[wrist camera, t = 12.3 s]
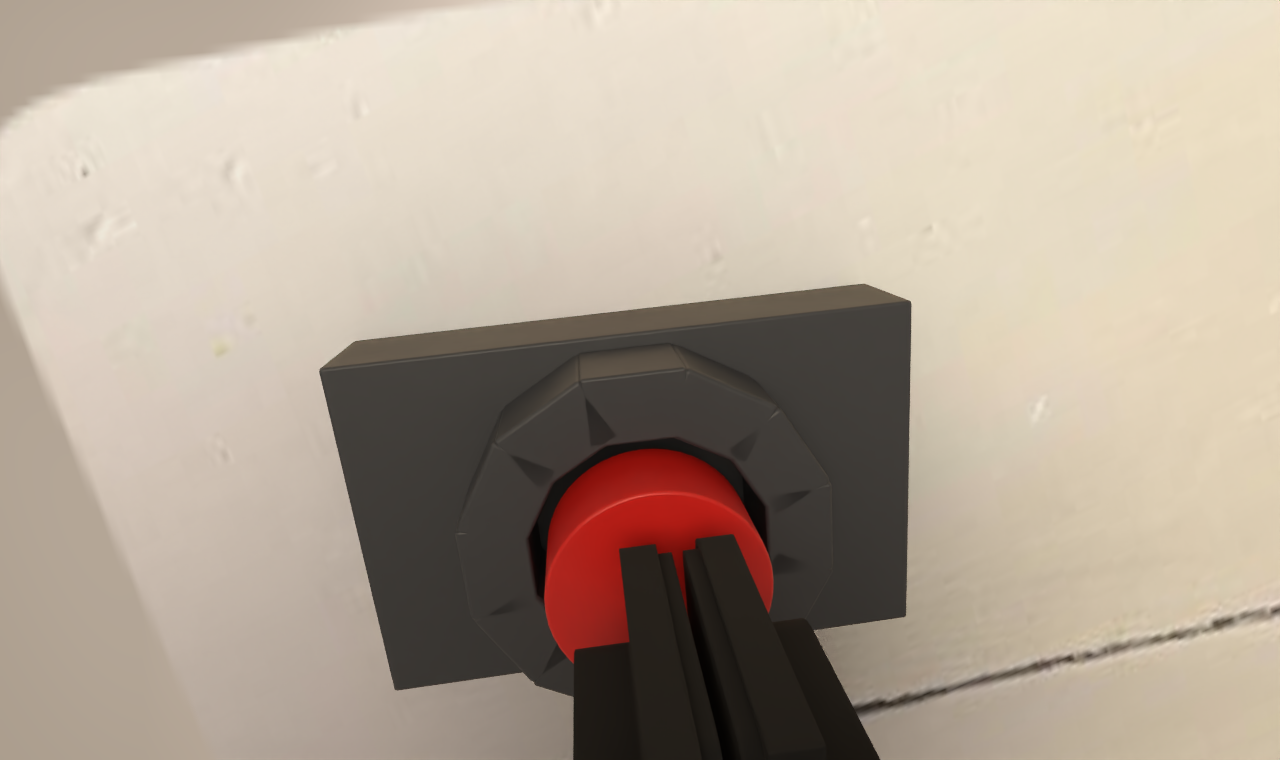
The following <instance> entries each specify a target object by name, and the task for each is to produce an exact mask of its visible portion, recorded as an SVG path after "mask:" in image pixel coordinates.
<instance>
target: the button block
mask: <svg viewBox="0 0 1280 760" xmlns="http://www.w3.org/2000/svg"><path fill="white" fill-rule="evenodd" d="M910 356H911V301H909V300H906V299H903V298H901V297H898V296H895V295H893V294H890V293H888V292H885V291H882V290H880V289H877V288H874V287H872V286H869V285H866V284H858V285H850V286H841V287H832V288H823V289H814V290H805V291H796V292H787V293H779V294H770V295H761V296H752V297H743V298H734V299H725V300H717V301H708V302H699V303H690V304H681V305H672V306H663V307H654V308H646V309H637V310H628V311H619V312H610V313H601V314H592V315H584V316H575V317H566V318H557V319H548V320H539V321H530V322H521V323H513V324H504V325H495V326H486V327H477V328H468V329H459V330H451V331H442V332H433V333H424V334H415V335H406V336H397V337H388V338H380V339H371V340H362V341H355V342H353V343H352V344H351V345H350V346H348V347H347V348H346V349H345V350H343V351H342V352H341V353H339V354H338V355H337V356H336V357H334V358H333V359H332V360H331V361H329V362H328V363H327V364H326V365H324V366H323V367H322V368H320V371H319V372H320V376H321V381H322V385H323V389H324V393H325V397H326V402H327V406H328V410H329V414H330V418H331V423H332V427H333V431H334V435H335V440H336V444H337V448H338V452H339V456H340V461H341V465H342V469H343V473H344V477H345V482H346V486H347V490H348V494H349V499H350V503H351V507H352V511H353V515H354V520H355V524H356V528H357V532H358V536H359V541H360V545H361V549H362V553H363V558H364V562H365V566H366V570H367V574H368V579H369V583H370V587H371V591H372V596H373V600H374V604H375V608H376V612H377V617H378V621H379V625H380V629H381V633H382V638H383V642H384V646H385V650H386V655H387V659H388V663H389V667H390V671H391V676H392V680H393V684H394V688H395V690H403V689H410V688H417V687H424V686H431V685H438V684H445V683H452V682H459V681H466V680H472V679H479V678H486V677H493V676H500V675H507V674H514V673H521V672H523V673H524V674H525V675H526V676H527V677H528V678H529V679H530V680H531V681H533V682H534V683H535V685H536V686H540V687H543V688H546V689H549V690H553V691H556V692H559V693H563V694H566V695H569V696H572V697H574V664H573V663H572V662H571V661H570V660H569V659H568V658H567V656H566V655H565V654H564V653H563V651H562V650H561V649H560V647H559V646H558V644H557V642H556V641H555V639H554V637H553V635H552V633H551V630H550V628H549V625H548V621H547V617H546V613H545V603H544V592H545V575H546V558H547V542H548V531H549V527H550V522H551V519H552V516H553V513H554V511H555V508H556V507H557V505H558V503H559V501H560V499H561V497H562V496H563V495H564V493H565V492H566V491H567V489H568V488H569V487H570V486H571V485H572V484H573V483H574V482H575V480H576V479H577V478H578V477H580V476H581V475H582V474H583V473H585V472H586V471H587V470H588V469H590V468H591V467H593V466H595V465H596V464H598V463H600V462H601V461H604V460H606V459H608V458H610V457H612V456H615V455H618V454H622V453H625V452H629V451H634V450H640V449H667V450H673V451H678V452H682V453H685V454H688V455H691V456H694V457H696V458H698V459H700V460H702V461H704V462H706V463H708V464H709V465H711V466H712V467H714V468H715V469H716V470H717V471H719V472H720V473H721V474H722V475H723V476H724V477H725V478H726V479H727V480H728V481H729V482H730V484H731V485H732V486H733V487H734V489H735V491H736V492H737V494H738V495H739V497H740V499H741V501H742V503H743V505H744V507H745V508H746V510H747V512H748V514H749V516H750V518H751V520H752V522H753V524H754V526H755V528H756V529H757V531H758V533H759V535H760V537H761V539H762V541H763V543H764V545H765V547H766V550H767V552H768V554H769V558H770V561H771V565H772V571H773V579H774V582H773V597H772V603H771V608H770V611H769V616H770V618H771V621H772V622H777V621H784V620H792V619H799V618H804V619H806V620H807V621H808V623H809V624H810V626H811V627H812V629H813V630H818V629H825V628H832V627H839V626H846V625H853V624H860V623H866V622H873V621H880V620H887V619H894V618H901V617H905V616H906V588H907V530H908V472H909V414H910Z"/></svg>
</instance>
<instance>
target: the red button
mask: <svg viewBox="0 0 1280 760" xmlns="http://www.w3.org/2000/svg"><path fill="white" fill-rule="evenodd" d="M728 534H733V535H734V536H735V538H736V541H737V543H738V545H739V548H740V550H741V552H742V554H743V557H744V559H745V561H746V564H747V566H748V568H749V570H750V573H751V575H752V577H753V580H754V582H755V584H756V586H757V589H758V591H759V593H760V596H761V598H762V600H763V602H764V605H765V607H766V609H767V612H768V614H769V611H770V608H771V603H772V597H773V582H774V579H773V571H772V565H771V561H770V558H769V554H768V552H767V550H766V547H765V545H764V543H763V541H762V539H761V537H760V535H759V533H758V531H757V529H756V528H755V526H754V524H753V522H752V520H751V518H750V516H749V514H748V512H747V510H746V508H745V507H744V505H743V503H742V501H741V499H740V497H739V495H738V494H737V492H736V491H735V489H734V487H733V486H732V485H731V484H730V482H729V481H728V480H727V479H726V478H725V477H724V476H723V475H722V474H721V473H720V472H719V471H717V470H716V469H715V468H714V467H712V466H711V465H709V464H708V463H706V462H704V461H702V460H700V459H698V458H696V457H694V456H691V455H688V454H685V453H682V452H678V451H673V450H667V449H640V450H634V451H629V452H625V453H622V454H618V455H615V456H612V457H610V458H608V459H606V460H604V461H601V462H600V463H598V464H596V465H595V466H593V467H591V468H590V469H588V470H587V471H586V472H585V473H583V474H582V475H581V476H580V477H578V478H577V479H576V480H575V482H574V483H573V484H572V485H571V486H570V487H569V488H568V489H567V491H566V492H565V493H564V495H563V496H562V497H561V499H560V501H559V503H558V505H557V507H556V508H555V511H554V513H553V516H552V519H551V522H550V527H549V531H548V542H547V558H546V575H545V592H544V603H545V613H546V617H547V621H548V625H549V628H550V630H551V633H552V635H553V637H554V639H555V641H556V642H557V644H558V646H559V647H560V649H561V650H562V651H563V653H564V654H565V655H566V656H567V658H568V659H569V660H570V661H571V662H572V663H573V664H574V651H575V649H581V648H588V647H596V646H603V645H610V644H617V643H625V642H629V634H628V625H627V616H626V607H625V599H624V590H623V581H622V572H621V564H620V555H619V549H620V548H628V547H636V546H643V545H651V544H656V548H657V552H658V554H660V553H668V552H672V555H673V559H674V563H675V567H676V571H677V575H678V579H679V583H680V587H681V591H682V595H683V599H684V603H685V607H686V611H687V601H686V590H685V578H684V567H683V550H690V549H695V540H696V539H697V538H705V537H712V536H720V535H728ZM687 615H688V613H687Z"/></svg>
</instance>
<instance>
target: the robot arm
mask: <svg viewBox="0 0 1280 760" xmlns="http://www.w3.org/2000/svg"><path fill="white" fill-rule="evenodd" d="M619 555H620V564H621V572H622V581H623V590H624V599H625V607H626V616H627V625H628V634H629V642H625V643H617V644H610V645H603V646H596V647H588V648H581V649H575V651H574V746H573V760H880V758H879V756H878V754H877V752H876V751H875V749H874V747H873V745H872V743H871V741H870V739H869V737H868V735H867V733H866V731H865V729H864V727H863V725H862V724H861V722H860V720H859V718H858V716H857V714H856V712H855V710H854V708H853V706H852V704H851V702H850V700H849V698H848V697H847V695H846V693H845V691H844V689H843V687H842V685H841V683H840V681H839V679H838V677H837V675H836V673H835V672H834V670H833V668H832V666H831V664H830V662H829V660H828V658H827V656H826V654H825V652H824V650H823V648H822V646H821V645H820V643H819V641H818V639H817V637H816V635H815V633H814V631H813V629H812V627H811V626H810V624H809V623H808V621H807V620H806V619H804V618H799V619H792V620H784V621H777V622H772V621H771V618H770V616H769V614H768V612H767V609H766V607H765V605H764V602H763V600H762V598H761V596H760V593H759V591H758V589H757V586H756V584H755V582H754V580H753V577H752V575H751V573H750V570H749V568H748V566H747V564H746V561H745V559H744V557H743V554H742V552H741V550H740V548H739V545H738V543H737V541H736V538H735V536H734V535H733V534H728V535H720V536H712V537H705V538H697V539H696V540H695V549H690V550H683V567H684V578H685V590H686V601H687V611H686V607H685V603H684V599H683V595H682V591H681V587H680V583H679V579H678V575H677V571H676V567H675V563H674V559H673V555H672V552H668V553H660V554H658V552H657V548H656V544H651V545H643V546H636V547H628V548H620V549H619ZM687 613H688V615H687Z"/></svg>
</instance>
